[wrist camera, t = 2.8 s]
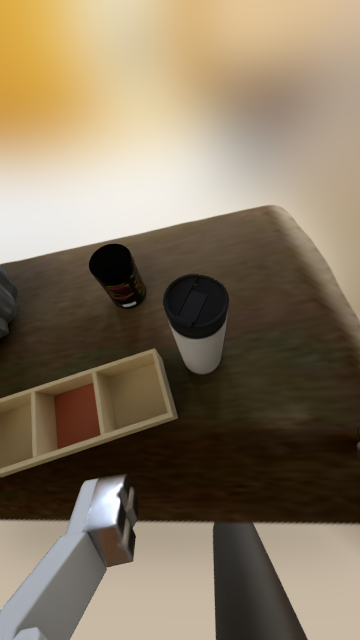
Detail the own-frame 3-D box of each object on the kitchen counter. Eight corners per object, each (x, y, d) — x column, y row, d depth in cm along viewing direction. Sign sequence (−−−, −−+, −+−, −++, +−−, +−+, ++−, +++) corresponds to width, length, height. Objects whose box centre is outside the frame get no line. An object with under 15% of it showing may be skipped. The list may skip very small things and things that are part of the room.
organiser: (178, 418, 37) (173, 416, 32) (-3, 478, 36) (-38, 486, 31) (161, 358, 41) (154, 348, 36) (-1, 411, 40) (-31, 408, 35)
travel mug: (176, 367, 40) (148, 315, 22) (192, 333, 42) (178, 259, 24) (211, 383, 38) (213, 340, 20) (226, 346, 41) (239, 278, 22)
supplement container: (142, 275, 48) (125, 238, 39) (151, 303, 46) (136, 269, 36) (109, 287, 48) (85, 252, 39) (117, 315, 45) (93, 285, 36)
